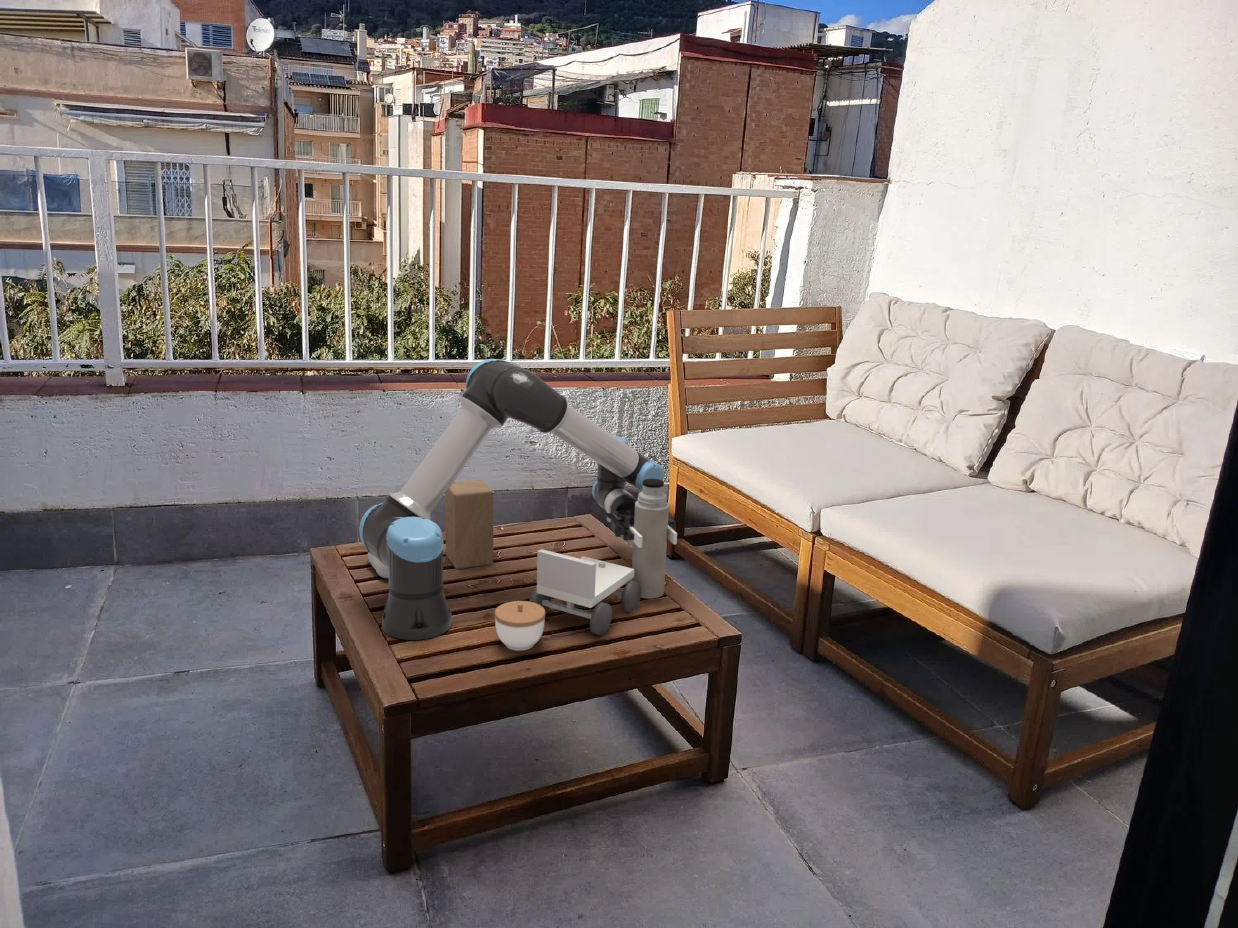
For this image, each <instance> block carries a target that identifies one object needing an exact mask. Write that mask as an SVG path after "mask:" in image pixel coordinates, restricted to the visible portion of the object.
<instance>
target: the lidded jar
mask: <svg viewBox="0 0 1238 928" xmlns="http://www.w3.org/2000/svg"><path fill="white" fill-rule="evenodd" d="M545 618H546V614H545V609H544V608H543V607H542V606H541V605H539V604H536V603H533V602H529V601H527V600H514V601H512V600H511V601H508V602H505V603H502V604H500V605H497V607H496V608H495V610H494V619H495V620H494V622H495V623H494V624H495V631H496V634H497V636H498V638H499V641H501V642H502V643H503V644H504V645H505V647H506V648H507V649H508V650H511V651H515V652H516V651H518V652H520V651H528V650H530V649H532V648H533V647H534V646H535V644H537V643H538V642H539V640H540V639H541V638H542V636H543V633H544V632H543V631H544V629H545V623H546V622H545Z"/></svg>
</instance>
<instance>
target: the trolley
mask: <svg viewBox="0 0 1238 928" xmlns="http://www.w3.org/2000/svg"><path fill="white" fill-rule="evenodd" d="M536 559H537V561H536V563H537V564H536V571H537V572H536V586H535V588H534V589H533V590H532V593H531V594H530V597H529V601H528V602H533V603H536V604H539V605H541V606H542V607H543V608H544V609H545V615H546V614H547V612H548V610H549V609H550V608H551V609H554V610H557V611H561V612H564V613H565V612H566V613H568V614H572V615H576V616H578V617H583V618H586V619H589V629H590V632H591V633H592V634H595V635H598V636H603V635H604V634H605V633H606V632H607V631H608V629H609V628H610V626H611V621H612V617H613V608H612V606H611V605H610V604H609V603H606V602H602V601H603V600H604V599H605V598H607V597H608V596H610V595H614V596H618V597H621V598H620V606H621V609H622V610H623V611H626V612H630V613H632V612H634V611H635V610H636V609H637V607H638V605H639V604H640V600H641V585H640V583H638V582H634V581H631V579H632V578H634V569H632V567H627V566H623V565H619V564H616V563H612V562H608V561H604V560H600V559H595V558H592V557H588V556H584V555H582V556H581V557H579V558H578V557H574V556H570V555H566V554H562V553H557V552H555V551H550V550H546V549H542V548H541V549H539V550H537V557H536ZM624 585H625V586H624ZM623 586H624V587H623ZM621 587H623V590H620V588H621ZM552 598H554V599H557V600H561V601H564V602H566V605H565V604H563V603H559V602H555V601H552ZM575 605H578V606H583V607H585V608H590V609H591V608H593V607H594V608H593V611H592V612H590V611H586V610H583V609H581V608H580V609H579V608H577V607H575Z"/></svg>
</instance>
